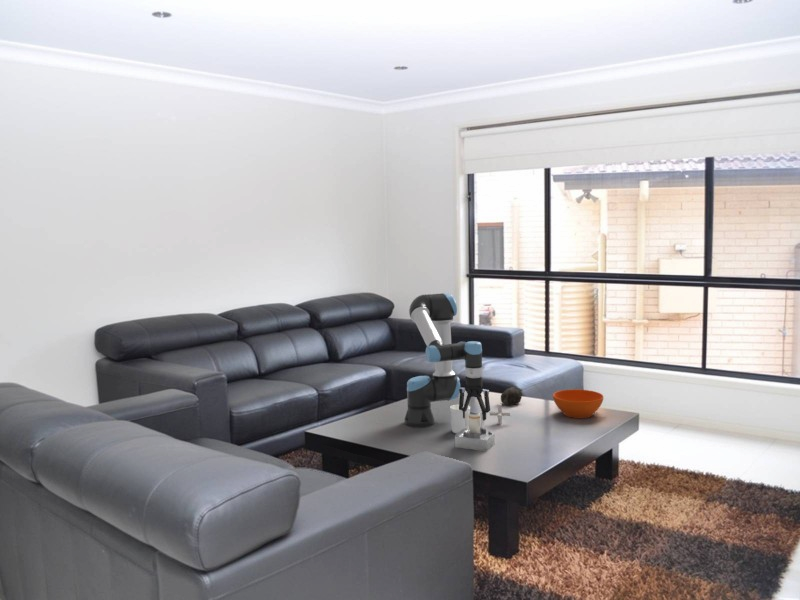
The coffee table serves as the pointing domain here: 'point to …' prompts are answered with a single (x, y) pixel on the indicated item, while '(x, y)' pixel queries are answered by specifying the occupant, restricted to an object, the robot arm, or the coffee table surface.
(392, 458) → the coffee table surface
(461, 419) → the candle holder
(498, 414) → the pipe connector
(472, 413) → the cream flashlight
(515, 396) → the rock
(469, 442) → the cradle fixture plate
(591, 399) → the bowl
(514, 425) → the coffee table surface
